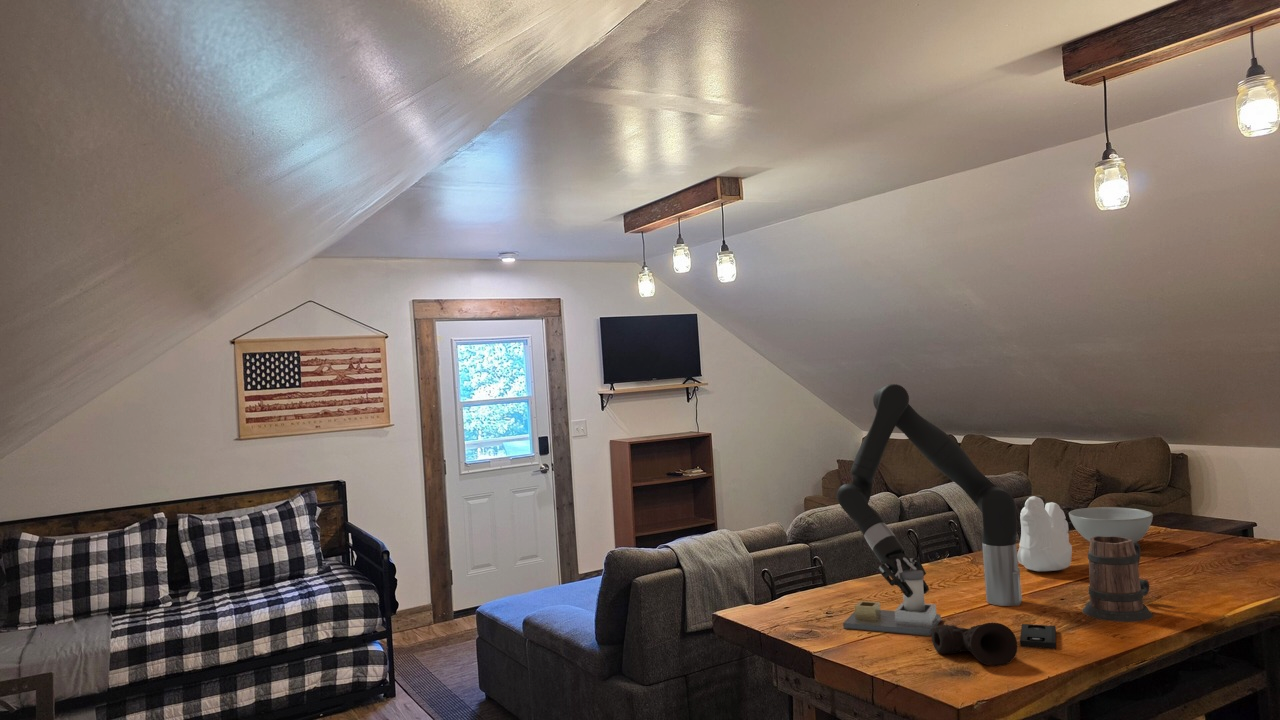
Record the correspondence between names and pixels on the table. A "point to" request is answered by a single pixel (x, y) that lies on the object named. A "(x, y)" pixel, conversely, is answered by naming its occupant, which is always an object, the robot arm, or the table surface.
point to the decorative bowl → (1111, 522)
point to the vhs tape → (1038, 636)
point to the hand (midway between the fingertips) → (918, 593)
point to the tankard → (1116, 581)
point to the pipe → (977, 642)
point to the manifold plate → (893, 619)
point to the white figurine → (1044, 537)
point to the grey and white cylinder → (914, 590)
